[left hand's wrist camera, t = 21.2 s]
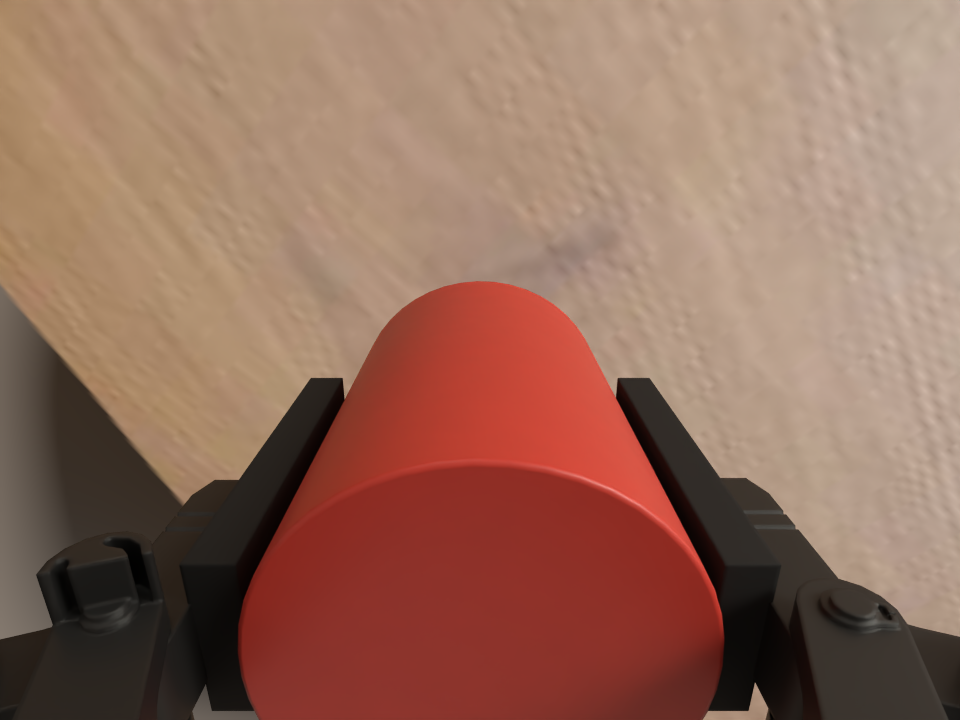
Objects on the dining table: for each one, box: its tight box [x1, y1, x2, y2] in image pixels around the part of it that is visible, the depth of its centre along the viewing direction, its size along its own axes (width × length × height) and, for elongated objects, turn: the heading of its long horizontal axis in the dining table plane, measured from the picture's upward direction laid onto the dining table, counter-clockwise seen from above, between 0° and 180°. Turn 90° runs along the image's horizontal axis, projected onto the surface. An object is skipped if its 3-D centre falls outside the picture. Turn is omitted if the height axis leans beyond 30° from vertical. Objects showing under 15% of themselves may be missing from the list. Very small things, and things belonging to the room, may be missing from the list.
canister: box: [238, 281, 724, 720], centre depth 12 cm, size 7×7×9 cm
